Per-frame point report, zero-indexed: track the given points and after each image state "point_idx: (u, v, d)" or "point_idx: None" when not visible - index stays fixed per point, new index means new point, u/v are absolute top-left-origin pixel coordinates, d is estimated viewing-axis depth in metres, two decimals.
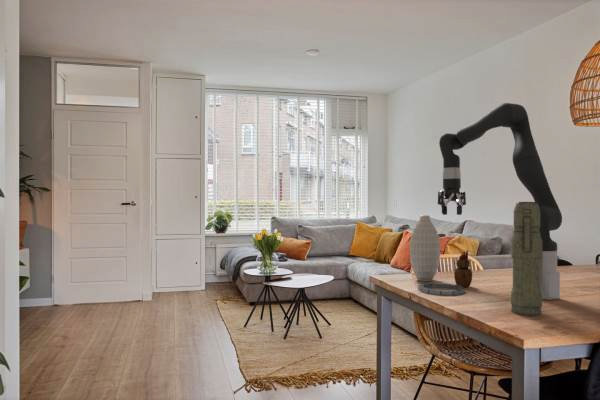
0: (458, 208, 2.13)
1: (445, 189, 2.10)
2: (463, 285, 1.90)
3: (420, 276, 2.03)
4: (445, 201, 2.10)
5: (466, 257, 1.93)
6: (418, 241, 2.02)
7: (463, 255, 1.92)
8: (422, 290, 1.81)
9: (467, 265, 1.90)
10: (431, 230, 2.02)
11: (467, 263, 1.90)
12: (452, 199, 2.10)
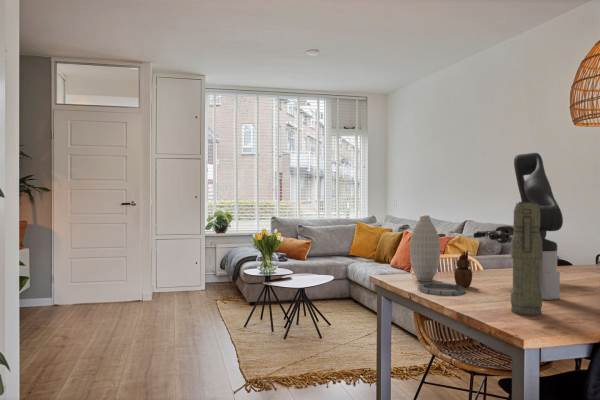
0: None
1: None
2: (463, 285, 1.90)
3: (420, 276, 2.03)
4: (485, 235, 2.03)
5: (466, 257, 1.93)
6: (418, 241, 2.02)
7: (463, 255, 1.92)
8: (422, 290, 1.81)
9: (467, 265, 1.90)
10: (431, 230, 2.02)
11: (467, 263, 1.90)
12: (492, 232, 2.01)
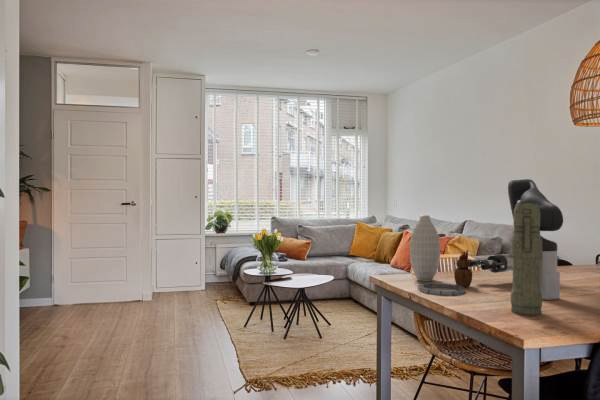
0: None
1: None
2: (463, 285, 1.90)
3: (420, 276, 2.03)
4: (476, 264, 2.01)
5: (466, 257, 1.93)
6: (418, 241, 2.02)
7: (463, 255, 1.92)
8: (422, 290, 1.81)
9: (467, 265, 1.90)
10: (431, 230, 2.02)
11: (467, 263, 1.90)
12: (483, 261, 1.99)
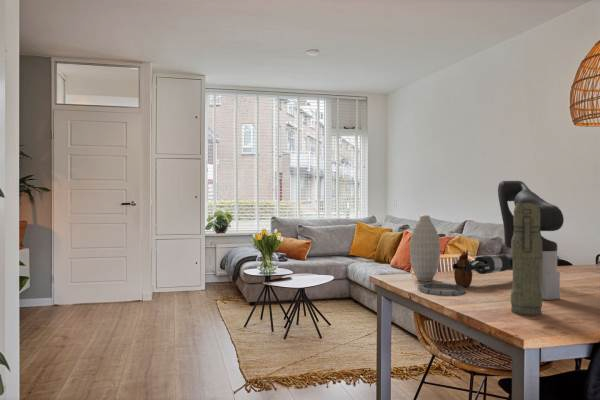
0: None
1: None
2: (463, 285, 1.90)
3: (420, 276, 2.03)
4: None
5: (466, 257, 1.93)
6: (418, 241, 2.02)
7: (463, 255, 1.92)
8: (422, 290, 1.81)
9: None
10: (431, 230, 2.02)
11: (467, 263, 1.90)
12: (472, 263, 1.95)
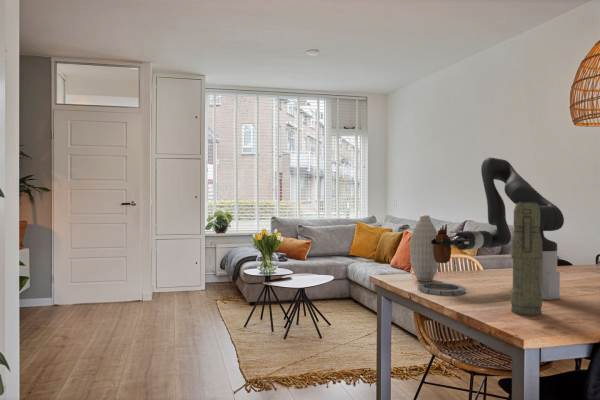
0: None
1: None
2: (442, 261, 1.83)
3: (420, 276, 2.03)
4: None
5: (445, 232, 1.85)
6: (418, 241, 2.02)
7: (442, 230, 1.85)
8: (422, 290, 1.81)
9: None
10: (431, 230, 2.02)
11: (446, 238, 1.83)
12: (451, 238, 1.87)
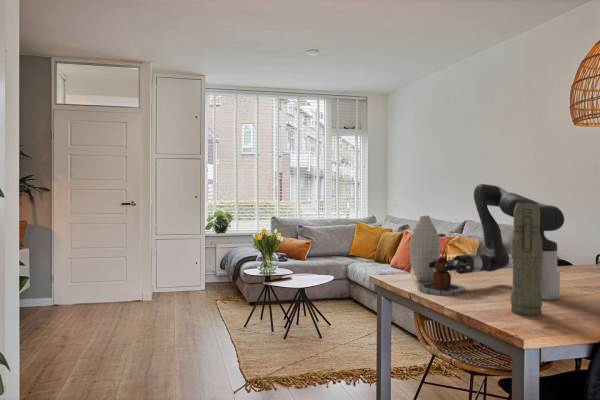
0: None
1: None
2: (441, 289, 1.82)
3: (420, 276, 2.03)
4: None
5: (445, 260, 1.84)
6: (418, 241, 2.02)
7: (441, 258, 1.84)
8: (422, 290, 1.81)
9: None
10: (431, 230, 2.02)
11: None
12: (449, 262, 1.87)
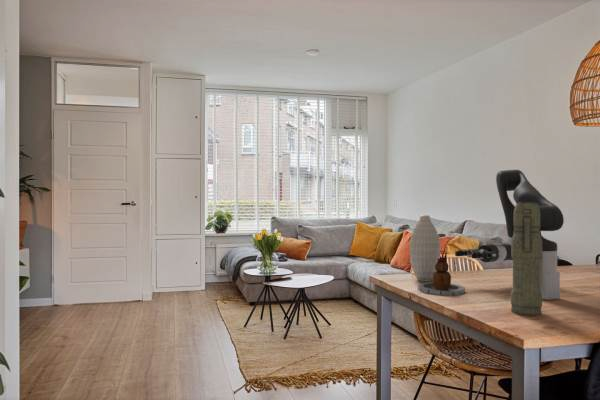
0: None
1: None
2: (441, 289, 1.82)
3: (420, 276, 2.03)
4: (467, 253, 1.95)
5: (445, 260, 1.84)
6: (418, 241, 2.02)
7: (441, 258, 1.84)
8: (422, 290, 1.81)
9: (445, 268, 1.82)
10: (431, 230, 2.02)
11: (445, 266, 1.82)
12: (474, 251, 1.93)
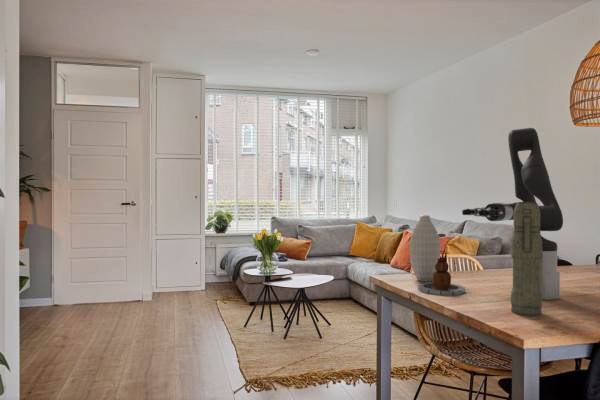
0: None
1: None
2: (441, 289, 1.82)
3: (420, 276, 2.03)
4: (474, 212, 1.97)
5: (445, 260, 1.84)
6: (418, 241, 2.02)
7: (441, 258, 1.84)
8: (422, 290, 1.81)
9: (445, 268, 1.82)
10: (431, 230, 2.02)
11: (445, 266, 1.82)
12: (481, 209, 1.95)
